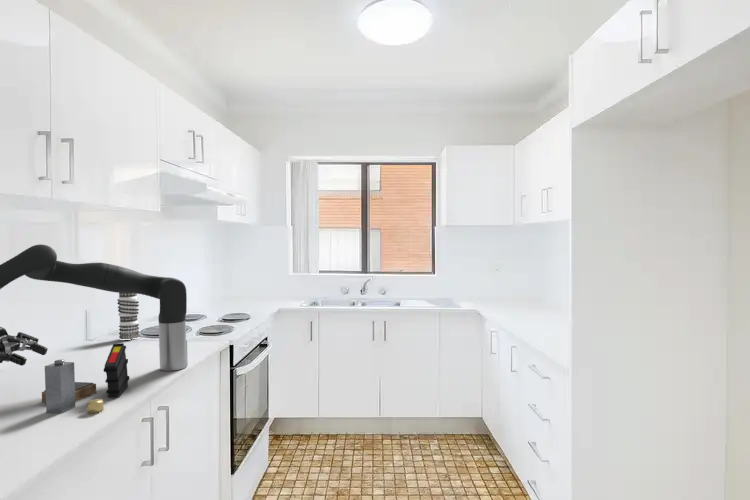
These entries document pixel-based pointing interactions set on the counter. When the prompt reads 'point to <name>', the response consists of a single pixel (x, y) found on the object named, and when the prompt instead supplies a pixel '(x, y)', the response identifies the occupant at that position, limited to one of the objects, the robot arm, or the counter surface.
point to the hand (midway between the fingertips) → (35, 357)
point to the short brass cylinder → (95, 406)
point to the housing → (60, 386)
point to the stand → (79, 390)
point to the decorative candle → (128, 315)
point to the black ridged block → (116, 371)
